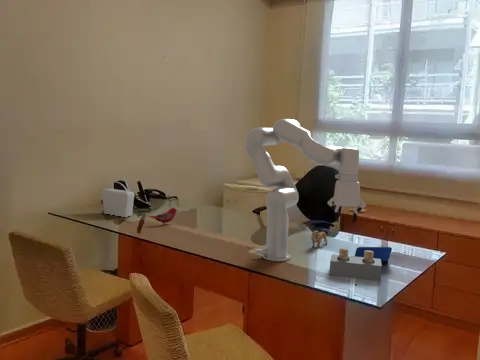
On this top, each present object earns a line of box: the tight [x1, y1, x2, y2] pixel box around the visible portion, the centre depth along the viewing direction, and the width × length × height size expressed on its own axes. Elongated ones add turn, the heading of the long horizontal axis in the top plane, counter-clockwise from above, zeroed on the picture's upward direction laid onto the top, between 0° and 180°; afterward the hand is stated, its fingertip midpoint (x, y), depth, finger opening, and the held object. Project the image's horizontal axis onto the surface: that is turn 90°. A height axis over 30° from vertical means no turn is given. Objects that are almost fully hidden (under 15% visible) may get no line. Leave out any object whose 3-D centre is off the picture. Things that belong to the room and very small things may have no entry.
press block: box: [329, 254, 383, 281], centre depth 200 cm, size 20×10×6 cm, turn 76°
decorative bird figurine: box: [146, 207, 178, 226], centre depth 276 cm, size 3×18×10 cm, turn 112°
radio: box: [101, 175, 135, 218], centre depth 299 cm, size 22×8×25 cm, turn 58°
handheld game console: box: [354, 246, 393, 266], centre depth 216 cm, size 16×13×9 cm
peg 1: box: [338, 247, 349, 261], centre depth 201 cm, size 4×4×6 cm
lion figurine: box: [310, 230, 328, 249], centre depth 242 cm, size 15×5×9 cm, turn 151°
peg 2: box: [364, 250, 374, 263], centre depth 198 cm, size 4×4×6 cm
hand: (345, 221), depth 199 cm, fingers open, 5 cm apart
